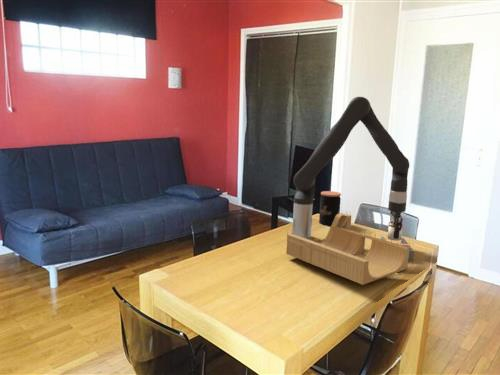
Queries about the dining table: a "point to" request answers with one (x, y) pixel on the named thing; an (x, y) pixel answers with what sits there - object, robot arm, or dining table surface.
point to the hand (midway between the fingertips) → (394, 236)
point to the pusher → (404, 245)
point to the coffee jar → (329, 207)
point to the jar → (391, 232)
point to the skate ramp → (350, 253)
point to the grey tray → (411, 251)
